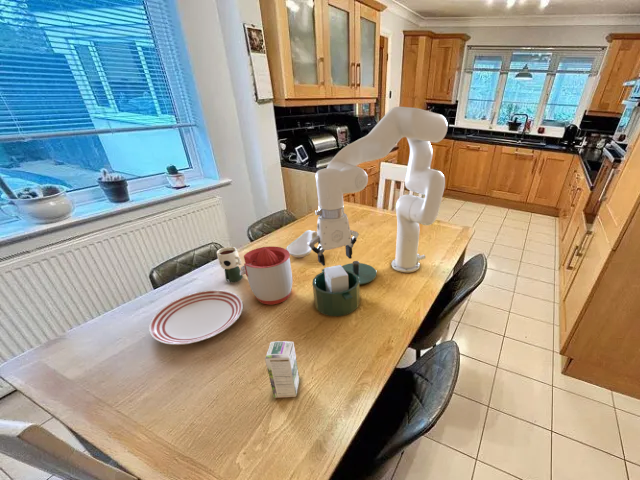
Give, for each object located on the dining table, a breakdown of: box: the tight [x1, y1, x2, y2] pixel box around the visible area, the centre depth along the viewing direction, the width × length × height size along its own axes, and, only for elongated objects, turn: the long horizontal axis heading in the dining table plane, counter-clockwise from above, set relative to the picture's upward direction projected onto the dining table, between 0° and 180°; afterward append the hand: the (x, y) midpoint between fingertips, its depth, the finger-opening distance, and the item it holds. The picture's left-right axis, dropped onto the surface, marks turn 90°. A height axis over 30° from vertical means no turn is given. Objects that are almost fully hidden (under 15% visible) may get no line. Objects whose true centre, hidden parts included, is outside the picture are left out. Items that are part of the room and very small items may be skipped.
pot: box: [312, 268, 361, 317], centre depth 110 cm, size 16×22×10 cm
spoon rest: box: [285, 229, 317, 258], centre depth 146 cm, size 24×12×7 cm, turn 167°
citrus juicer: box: [240, 246, 293, 305], centre depth 109 cm, size 16×17×20 cm
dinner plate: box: [148, 289, 244, 346], centre depth 101 cm, size 28×27×3 cm
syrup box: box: [264, 340, 300, 399], centre depth 77 cm, size 6×6×14 cm
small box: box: [323, 264, 349, 293], centre depth 109 cm, size 8×6×13 cm
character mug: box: [216, 246, 244, 283], centre depth 120 cm, size 11×7×13 cm, turn 70°
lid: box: [341, 260, 377, 286], centre depth 128 cm, size 17×17×6 cm
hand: (335, 260), depth 104 cm, fingers open, 9 cm apart
